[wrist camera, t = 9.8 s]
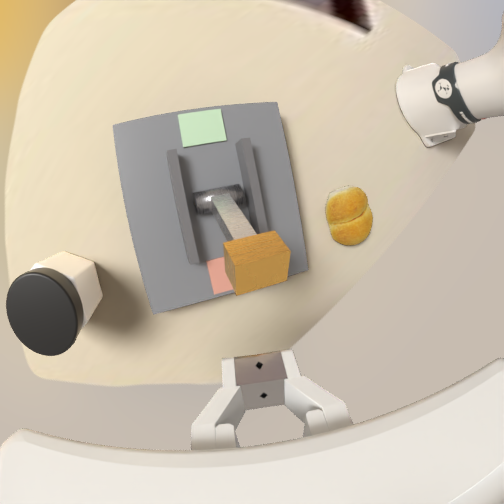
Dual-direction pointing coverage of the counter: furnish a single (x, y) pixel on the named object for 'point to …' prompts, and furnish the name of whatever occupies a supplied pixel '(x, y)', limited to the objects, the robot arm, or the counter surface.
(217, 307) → the counter surface
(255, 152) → the switch panel
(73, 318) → the jar
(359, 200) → the bread roll
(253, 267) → the breaker lever
